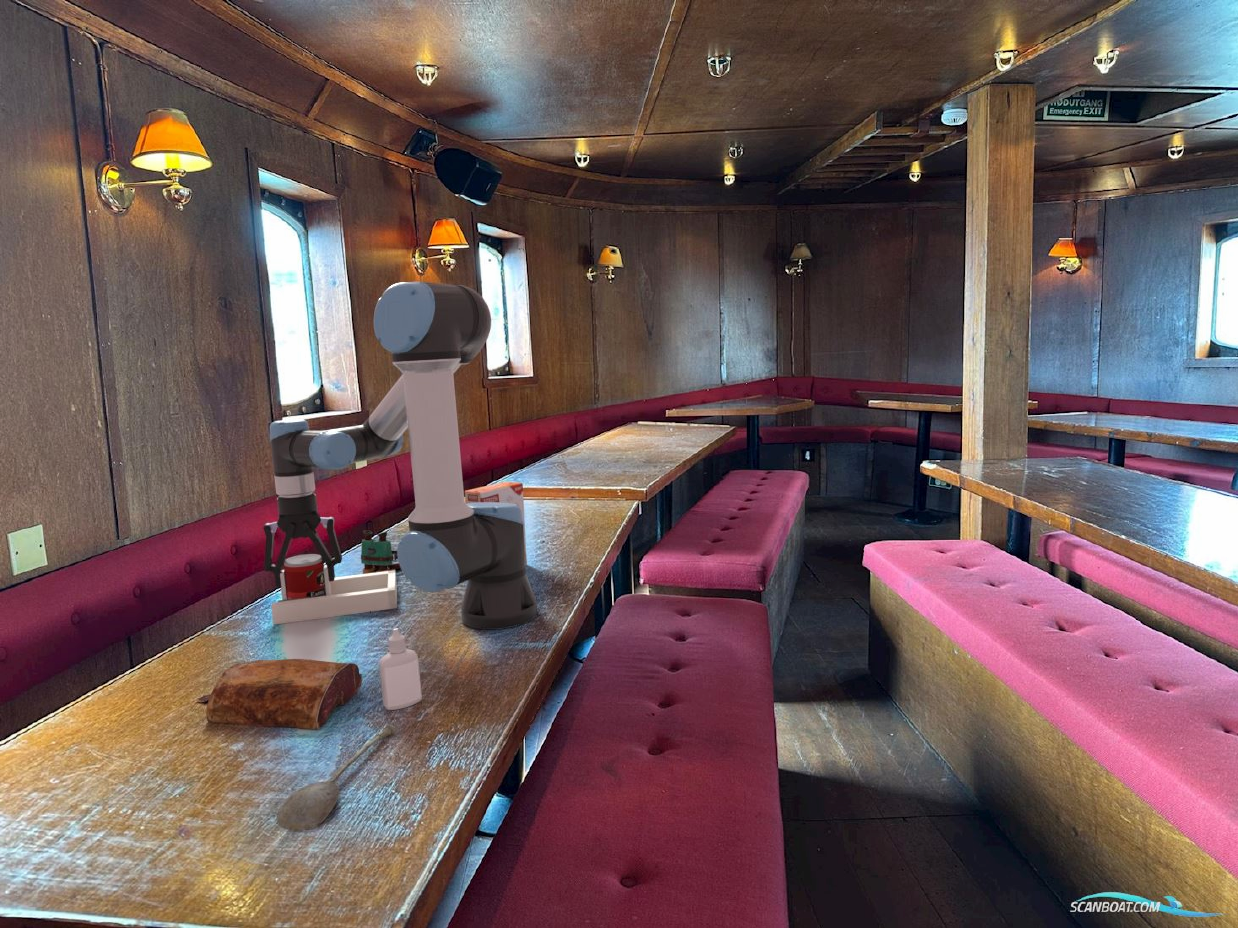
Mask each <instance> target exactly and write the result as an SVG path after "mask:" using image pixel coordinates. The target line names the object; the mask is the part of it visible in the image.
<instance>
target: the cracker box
mask: <svg viewBox="0 0 1238 928" xmlns="http://www.w3.org/2000/svg"><path fill="white" fill-rule="evenodd" d="M464 502H465V503H466V504H469V503H479V502H500V503H511V504H515V505H517V506H518V507H519V508H520V509H521V511H522V518H523V522H524V525H523V528H524V544H525V561H526V566H527V565H528V561H527V544H526V543H527V542H526V523H525V522H526V521H525V520H526V519H525V505H524V486H523V483H522V482H518V481H503V482H499V483H493V484H490V485H486V486H480V487H475V488H472V489H468V490H467V489H466V490H464Z"/></svg>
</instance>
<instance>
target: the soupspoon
mask: <svg viewBox="0 0 1238 928" xmlns="http://www.w3.org/2000/svg"><path fill="white" fill-rule="evenodd" d="M396 732H397V730H396V727H395V726H394V725H393V724H387V725H386V726H385V727H384V729H383V730H382V731H381V732H380V733H377V734H376V735H375V737H373V739H371V740H370V741H369V742H368V743H366V744H364V746H362V747H361V749H359V750H358V751H357V752H356V753H355V754H354V755H352V756H351V757H350V758H349V759H348V760H347V761H345V763H344V764H342V765H341V766H340V767H339V768H338V769H337V770H336V771H335V772H334V773H333V774H332V775H331V777H329V779H328V780H327V781H317V782H313V783H311V784H310V783H309V784H308V785H305V786H303V787H301V788H299V789H297V790H296V791H294V792H293V793H291V795H289V796H288V797H287V798H286V799H285V801H284V802H283V804H282V805H281V806H280V808H279V811H278V813H277V818H276V819H277V820H276V821H277V825H278V826H279V827H280V828H282V829H284V830H289V831H304V830H305V831H307V830H310V829H315V828H317V827H319V826H320V825H321V824H322V823H323V822H324V821H325V820H326V819H327V817H328V816H329V815H330V814H331V812H332V811H333V809H334V807H335V805H336V804H337V801H338V798H339V794H340V789H339V788H340V787H339V785H338V784H336V781H337V780H338V778H340V776H342V774H343V773H344V772H345V771H346V770H347V769H348V768H349V767H350V766H351V765H352V764H353V763H354V762H356V760H357V759H358V758H360V757H361V755H363V754H364V753H365V752H366V751H367V750H368V749H369V748H370V747H372V746H373V745H374V744H375V743H377V741H378V742H379V741H382V740H383V739H385V738H387V737H390V736H391V735H395V734H396Z"/></svg>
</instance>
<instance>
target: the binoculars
mask: <svg viewBox="0 0 1238 928" xmlns="http://www.w3.org/2000/svg"><path fill="white" fill-rule="evenodd" d="M373 535H374V534H373V532H372V531H371V530H363V536H364V539H362V540H361V553H360V554H361V555H360V559H361V564H364V568H362V574H368V573H375V570H376V569H377V572H384V571H392V570H398V569H401V567H400V565H399V562H397V563H396V561H397V560H398V556H397V550H392V543H391V542H392V541H391V540H390V539H387V536H388V532H387V531H385V532H379V533H378V534H377V537H378V539H374V538H372V536H373ZM393 562H395V563H393Z"/></svg>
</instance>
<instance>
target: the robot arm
mask: <svg viewBox="0 0 1238 928" xmlns="http://www.w3.org/2000/svg"><path fill="white" fill-rule="evenodd" d="M373 313H374V314H373V330H374V334H375V337H376V339H377V341H378V342H380V343H379V344H380V345H381V346H382V348H383V349H384V350H386V351H388V352H390V353H391V360H392V365H393V366H395V367H396V369H398V370H399V371H400V372H401V373H402V374H401V375H400V377H399V378H398V379H397V381H396V382H395V383H394V385H393V386H392V387H391V388H390V389H389V391H388V392H387V394H385V396H384V398H383V399H382V400H381V401H380V402H379V403H378V405H377V407H376V408H375V409H374V410H373V412H372V413H370V415H369V416H368V418H367V419H366V420H365V421H364V422H363V423H362V424H361V425H354V426H353V425H352V426H347V427H346V426H345V427H340V428H333V429H332V428H331V429H327V430H311V429H310V425H309V422H308V421H307V420H305V419H302V418H300V419H299V418H298V419H297V418H295V419H294V418H293V419H281V420H276V421H273V422H271V423H270V424H269V437H270V439H269V443H270V451H271V459H272V460H271V461H272V466H273V467H272V468H273V477H274V486H275V493H276V495H278V497H277V498H276V501H277V502H276V503H277V511H278V518H277V521H273V522H266V523H265V524H264V525H263V532H264V534H265V545H264V546H265V547H264V548H265V549H264V561H263V570H264V571H265V572H271V573H273V575H274V581H275V582H274V583H275V587H276V588H281V587H282V593H281V597H282V596H283V600H287V591H286V582H285V574H284V569H282V568H283V566H284V560H286V556H287V554H288V551H289V547H290V545H291V542H292V540H296V539H300V538H303V539H306V538H309V539H310V541H311V542H312V543H313V545H314V546H315V548H316V550H317V552H318V553H319V555H321V557H322V558H323V562H324V563H325V564H324V578H325V587H326V596H329V595H331V585H330V581H334V579H335V577H336V573H335V566H336V565H338V564H340V563H342V561H343V560H342V559H343V555H342V551H341V548H340V545H339V544H340V543H339V542H338V538H337V535H336V534H337V533H336V531H335V527H334V526H335V517H334V516H329V517H324V516H323V517H322V516H321V515H320V513H319V511H318V510H319V509H318V502H317V494H316V493H315V491H316V483H315V473H314V469H322V470H328V471H332V470H342V469H345V468H348V466H349V465H351V464H355V463H356V464H357V463H360V462H365V461H371V460H377V459H384V458H387V457H389V456H393V455H395V454H398V453H399V452H400V451H401V450H402V448H403V443H404V433H405V431H406V430H407V431H408V432H407V433H408V440H409V449H410V450H409V451H410V462H411V469H412V470H411V471H412V481H413V482H412V483H413V492H414V500H415V501H414V503H415V507H414V509H413V511H412V512H411V513H410V514H409V515H408V517H407V521H408V532H407V533H405V534H404V535H403V536H402V537H401V539H400V541H399V542H398V544H397V548H396V549H397V550H396V551H397V556H398V559H397V560H398V563H399V565H400V567H401V568H400V570H401V571H402V573H403V575H404V576H405V577H406V579H407V580H409V581H410V583H411V584H412V585H413V587H415V588H417V589H419V590H420V591H423V592H425V593H432V594H433V593H439V592H442V591H445V590H450V589H453V588H455V587H456V586H458V585H460V584H462V583H464V582H466V587H465V592H464V595H463V599H462V604H461V607H460V608H461V609H460V613H461V615H460V616H461V622H462V623H463V624H464V625H466V626H467V627H470V628H474V629H480V630H500V629H506V628H507V629H508V628H513V627H516V626H521V625H523V624H526V623H528V622H530V621H532V620H533V619H534V618H536V617H537V615H538V610H539V609H538V601H537V598H536V595H535V593H534V590H533V588H532V586H531V584H530V581H529V579H528V575H527V567H526V566H527V565H526V561H525V544H524V528H523V525H524V522H523V518H522V511H521V509H520V508H519V507H518V506H517V505H515V504H511V503H500V502H479V503H469V504H466V502H465V490H464V481H463V470H462V459H461V457H462V456H461V449H460V448H461V447H460V445H461V444H460V437H459V435H460V434H459V425H458V424H459V423H458V413H457V412H458V411H457V403H456V402H457V401H456V391H455V380H454V379H455V378H454V375H455V374H454V373H455V372H456V371H458V369H459V368H460V367H461V366H462V365H468V364H470V363H471V362H472V361H473V360H474V358H476V356H477V355H479V353H480V351H481V350H482V349H483V348H484V345H485V344H486V342H487V340H488V338H489V336H490V333H491V328H492V316H491V311H490V308H489V305H488V304H487V302H486V300H485V298H483V296H482V295H481V294H480V293H478V292H477V291H476V290H475V289H473V288H471V287H468V286H466V285H464V284H463V285H461V284H453V283H452V284H447V283H437V282H436V283H435V282H425V281H409V282H407V281H405V282H404V281H402V282H397V283H394V284H392V285H391V286H388V288H386V290H385V291H384V292H383V293H382V296H381V297H380V298H379V299H378V300H377V303H376V305H375V308H374V312H373ZM320 524H322V527H323V528H325V529H326V532H327V536H328V541H329V543H330V546H331V550H332V553H333V557H332V556H331V554H330V553H329V550H328V549H327V548H326V546H325V544H324V542H323V541H322V539H321V538H320V536H319V533H318V532H317V528H318V526H319V525H320ZM277 528H279V529H280V530H281V531H282V532H283V533H284V534H285V536H284V539H283V542H282V545H281V549H280V551H279V553H278V557H277V560H276V563H275V564H274V563H273V555H274V541H275V540H274V539H275V533H276V532H277Z"/></svg>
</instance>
